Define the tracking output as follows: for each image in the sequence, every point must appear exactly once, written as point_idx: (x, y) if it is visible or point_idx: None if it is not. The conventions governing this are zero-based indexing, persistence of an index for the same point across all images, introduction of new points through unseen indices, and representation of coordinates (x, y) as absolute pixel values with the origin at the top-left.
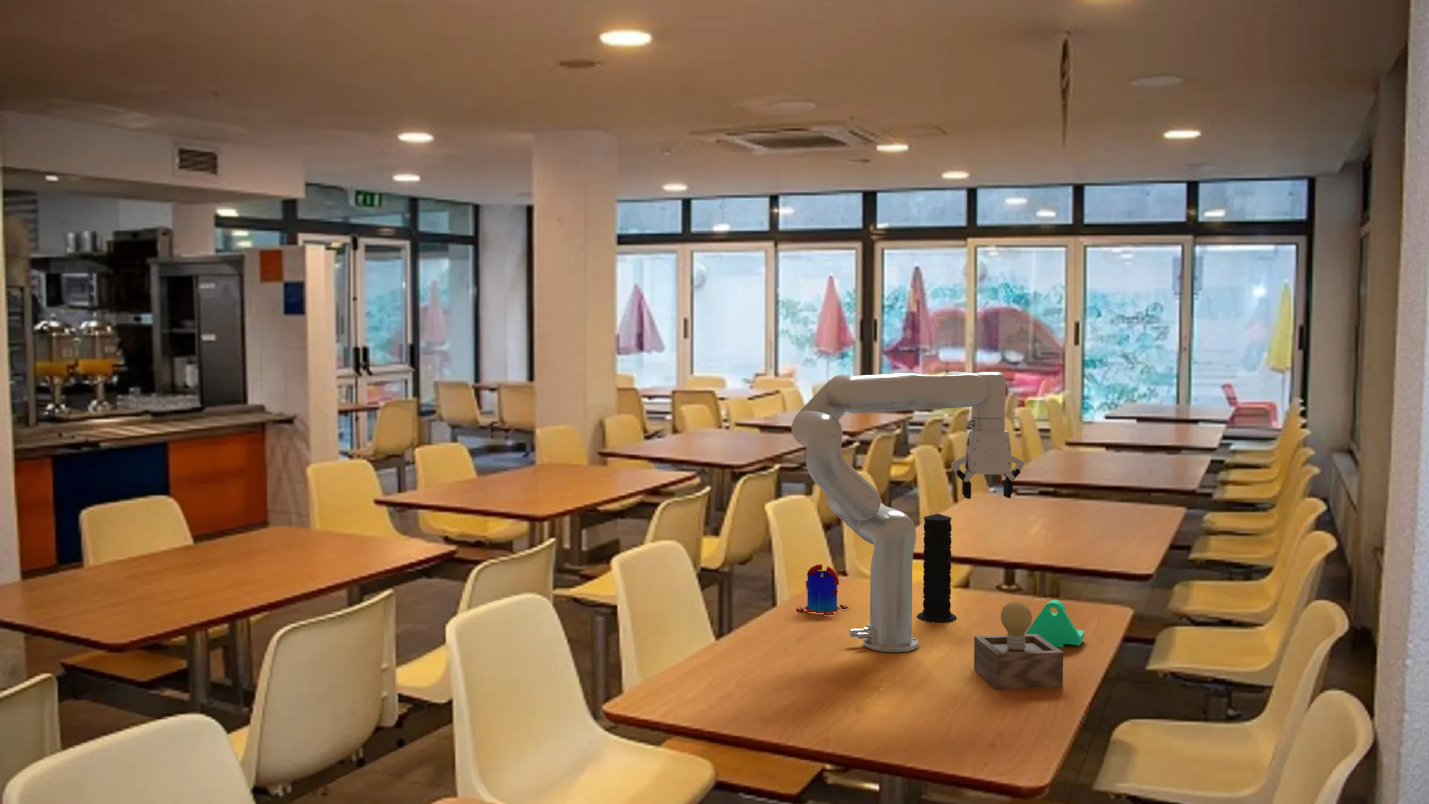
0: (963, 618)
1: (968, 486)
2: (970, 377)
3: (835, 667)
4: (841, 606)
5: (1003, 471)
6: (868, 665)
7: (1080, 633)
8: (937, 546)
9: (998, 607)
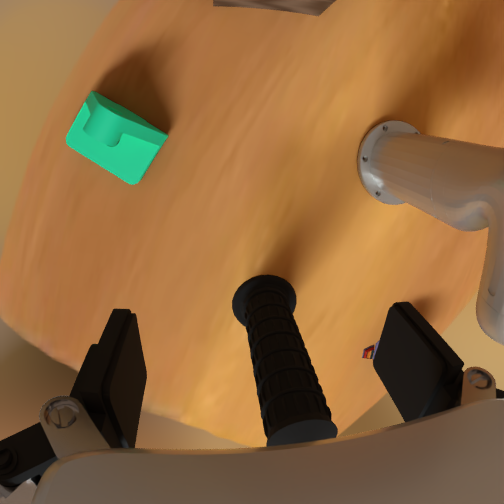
0: (222, 296)
1: (447, 344)
2: None
3: (474, 93)
4: (372, 354)
5: (156, 468)
6: (444, 84)
7: (76, 124)
8: (301, 373)
9: (147, 344)
